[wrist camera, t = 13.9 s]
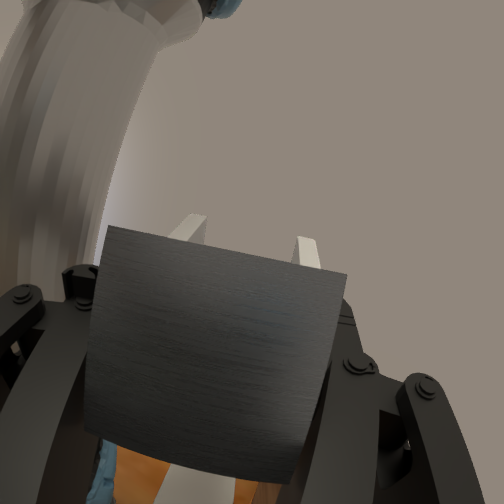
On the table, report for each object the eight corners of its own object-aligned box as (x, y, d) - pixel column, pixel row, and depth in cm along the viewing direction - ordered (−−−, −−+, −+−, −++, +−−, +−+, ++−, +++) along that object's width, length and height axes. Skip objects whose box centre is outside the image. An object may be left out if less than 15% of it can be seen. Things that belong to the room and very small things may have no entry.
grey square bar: (83, 430, 4) (108, 224, 5) (220, 312, 28) (228, 271, 29) (288, 485, 4) (347, 274, 5) (261, 320, 28) (270, 279, 28)
